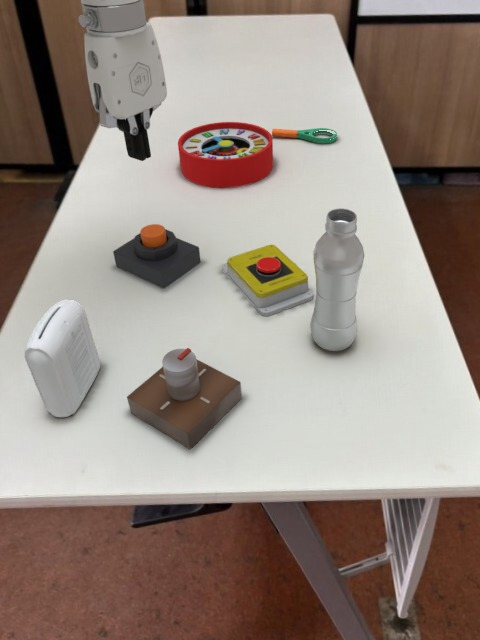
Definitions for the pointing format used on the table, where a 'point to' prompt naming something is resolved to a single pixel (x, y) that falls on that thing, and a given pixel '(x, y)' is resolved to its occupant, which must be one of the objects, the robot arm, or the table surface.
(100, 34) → the robot arm
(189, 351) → the dial
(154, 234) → the orange push button
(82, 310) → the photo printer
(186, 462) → the table surface
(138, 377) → the table surface
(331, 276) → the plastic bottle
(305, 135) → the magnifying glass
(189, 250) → the button base
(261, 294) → the emergency button
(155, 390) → the dial panel
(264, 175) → the toy clock
